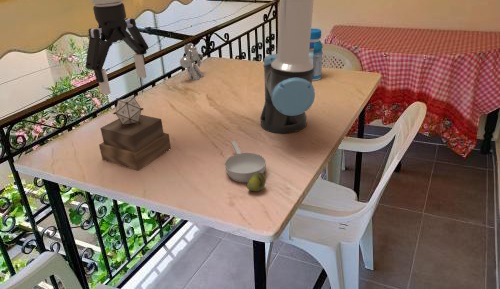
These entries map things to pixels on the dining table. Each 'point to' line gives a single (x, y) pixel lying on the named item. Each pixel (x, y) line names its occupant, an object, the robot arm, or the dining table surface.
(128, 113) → the game die
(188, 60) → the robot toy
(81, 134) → the dining table surface
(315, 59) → the beverage bottle
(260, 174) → the lime
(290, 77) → the robot arm
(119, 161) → the walnut tower base
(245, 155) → the saucepan
